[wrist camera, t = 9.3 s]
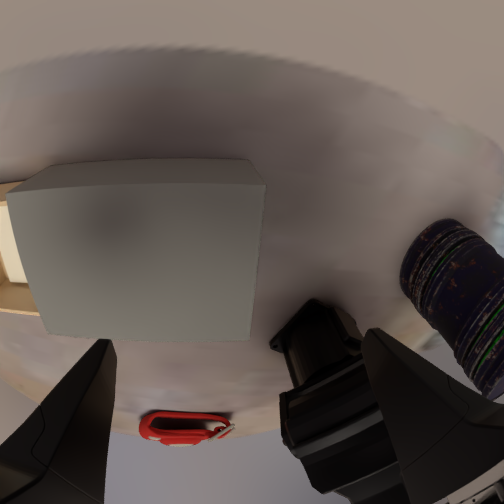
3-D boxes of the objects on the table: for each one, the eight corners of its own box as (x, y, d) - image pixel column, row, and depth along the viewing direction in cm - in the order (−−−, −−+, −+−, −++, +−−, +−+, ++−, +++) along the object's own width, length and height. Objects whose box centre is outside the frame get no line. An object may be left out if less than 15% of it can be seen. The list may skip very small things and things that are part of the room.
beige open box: (137, 160, 17) (82, 218, 9) (148, 290, 22) (129, 391, 14) (-21, 178, 14) (-99, 231, 6) (6, 284, 19) (-41, 358, 11)
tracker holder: (189, 448, 36) (130, 445, 30) (186, 422, 39) (128, 416, 33) (246, 439, 31) (177, 441, 25) (240, 407, 34) (174, 402, 28)
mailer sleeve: (248, 159, 19) (266, 185, 14) (238, 286, 23) (249, 340, 18) (51, 165, 16) (5, 193, 11) (72, 284, 21) (47, 334, 16)
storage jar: (477, 233, 25) (568, 312, 13) (436, 304, 30) (506, 394, 17) (430, 203, 22) (555, 301, 10) (381, 292, 27) (465, 413, 14)
